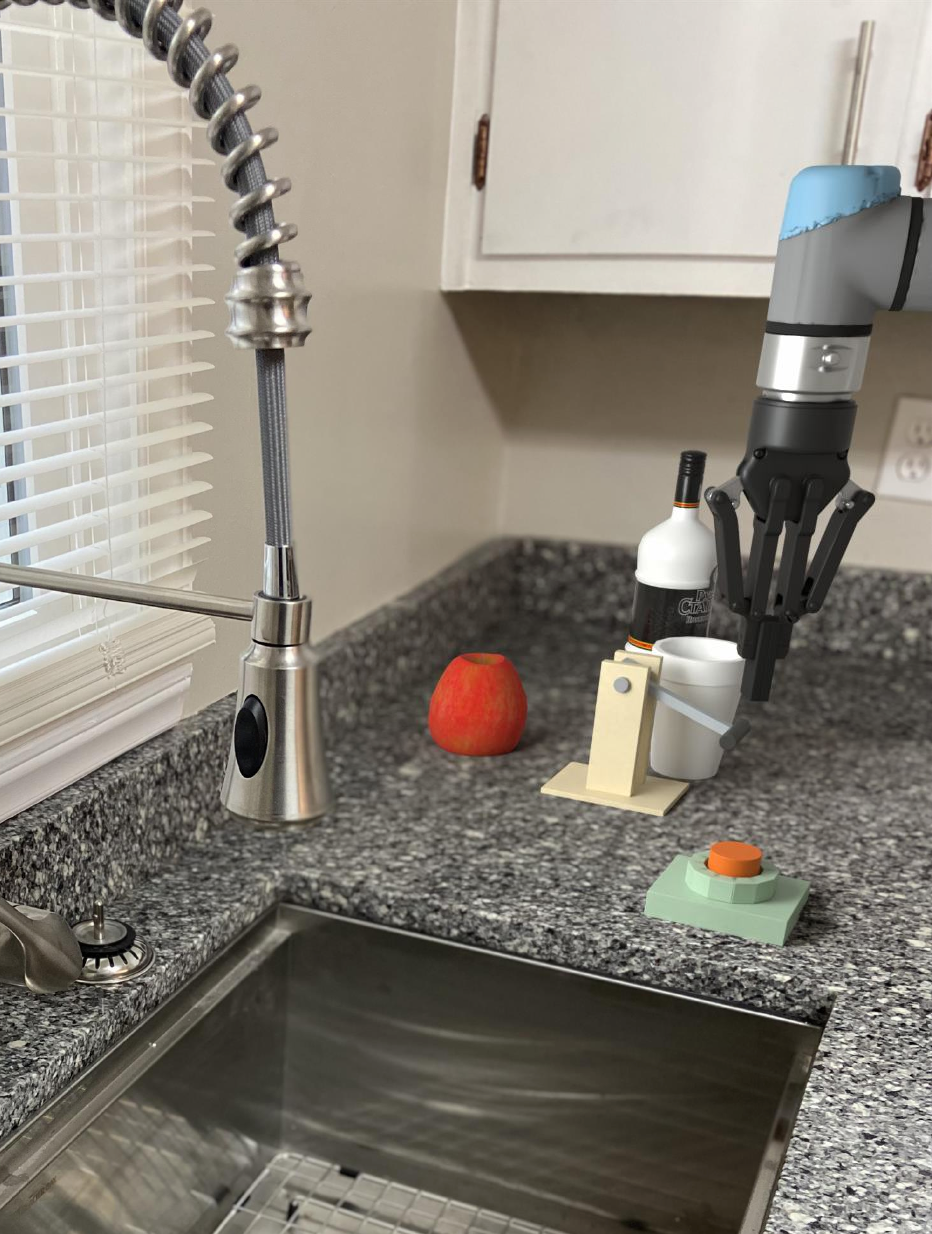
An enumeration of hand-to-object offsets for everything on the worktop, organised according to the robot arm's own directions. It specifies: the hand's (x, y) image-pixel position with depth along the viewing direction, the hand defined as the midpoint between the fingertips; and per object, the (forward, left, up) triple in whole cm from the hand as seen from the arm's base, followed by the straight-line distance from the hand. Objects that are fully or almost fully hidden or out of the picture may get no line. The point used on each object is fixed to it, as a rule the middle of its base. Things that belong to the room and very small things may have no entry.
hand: (754, 696), depth 123 cm
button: (-2, +9, -12) cm, 15 cm away
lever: (+9, -12, -6) cm, 16 cm away
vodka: (+16, -32, -16) cm, 39 cm away
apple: (+31, -18, -16) cm, 39 cm away
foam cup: (+10, -22, -16) cm, 29 cm away
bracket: (+14, -12, -15) cm, 24 cm away
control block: (-2, +9, -15) cm, 18 cm away
